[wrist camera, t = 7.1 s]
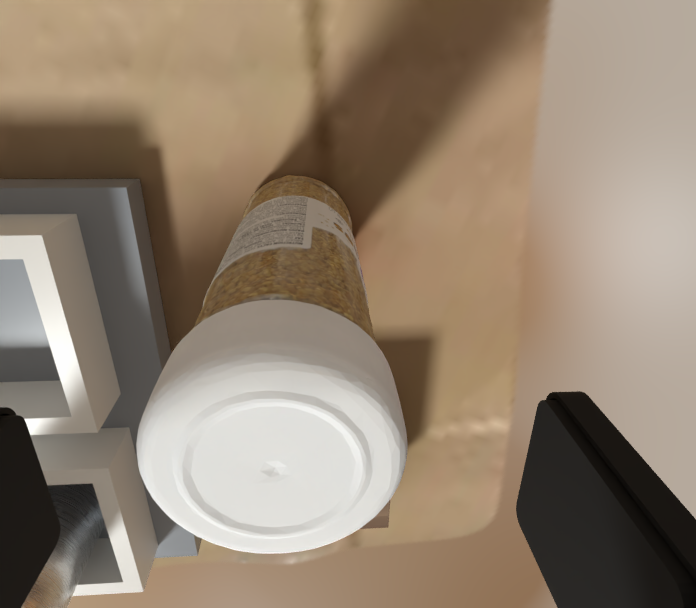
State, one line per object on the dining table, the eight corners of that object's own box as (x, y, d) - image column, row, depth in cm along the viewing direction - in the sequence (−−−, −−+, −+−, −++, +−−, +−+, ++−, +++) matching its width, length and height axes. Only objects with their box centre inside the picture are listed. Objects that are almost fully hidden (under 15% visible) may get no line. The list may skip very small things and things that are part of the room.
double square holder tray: (-193, 179, 18) (-321, 207, 14) (139, 178, 18) (98, 205, 15) (-16, 542, 27) (-67, 616, 23) (203, 531, 27) (187, 601, 24)
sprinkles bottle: (362, 262, 21) (433, 534, 9) (261, 288, 21) (194, 588, 9) (335, 157, 19) (380, 321, 7) (224, 187, 19) (71, 399, 7)
